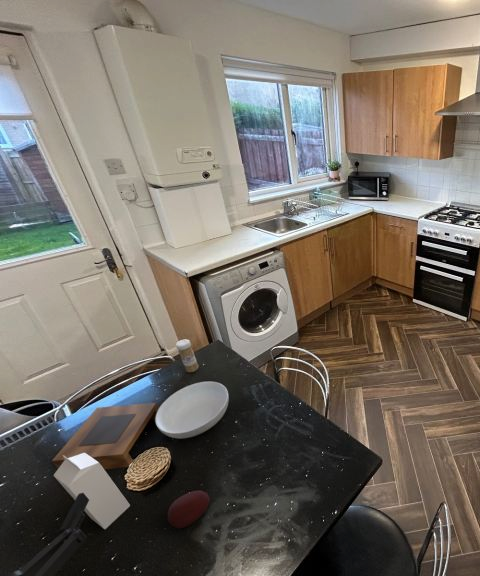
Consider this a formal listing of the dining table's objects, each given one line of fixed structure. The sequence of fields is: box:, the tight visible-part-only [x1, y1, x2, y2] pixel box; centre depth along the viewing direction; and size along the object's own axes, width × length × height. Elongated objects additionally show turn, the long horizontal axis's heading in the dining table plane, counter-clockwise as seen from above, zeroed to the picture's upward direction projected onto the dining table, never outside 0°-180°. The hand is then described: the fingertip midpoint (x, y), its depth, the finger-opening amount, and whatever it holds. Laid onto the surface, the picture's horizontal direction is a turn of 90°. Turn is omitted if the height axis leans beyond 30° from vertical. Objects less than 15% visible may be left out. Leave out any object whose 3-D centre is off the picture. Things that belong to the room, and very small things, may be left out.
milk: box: [53, 453, 131, 530], centre depth 74 cm, size 6×6×22 cm
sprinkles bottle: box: [175, 338, 199, 373], centre depth 121 cm, size 5×5×14 cm
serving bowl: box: [154, 381, 230, 439], centre depth 102 cm, size 21×21×7 cm
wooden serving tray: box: [51, 402, 160, 470], centre depth 95 cm, size 18×18×6 cm
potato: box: [167, 490, 211, 529], centre depth 78 cm, size 8×9×6 cm
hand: (42, 507), depth 61 cm, fingers open, 13 cm apart
